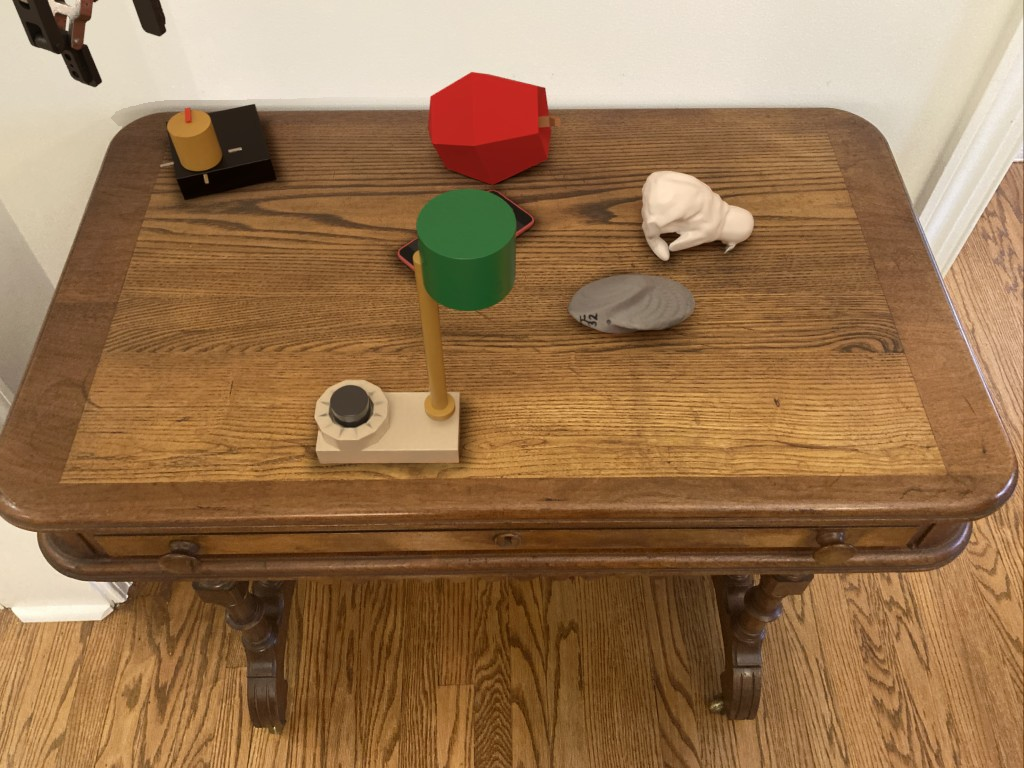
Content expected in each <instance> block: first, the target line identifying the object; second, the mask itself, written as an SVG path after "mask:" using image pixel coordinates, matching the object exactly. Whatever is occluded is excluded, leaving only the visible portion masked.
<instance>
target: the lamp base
mask: <svg viewBox="0 0 1024 768" xmlns="http://www.w3.org/2000/svg"><path fill="white" fill-rule="evenodd" d="M346 385H356V386H359V387H361V388H363V389H364V390H365V391H366V393H367V395H368V398H369V402H370V407H371V413H370V416H369V418H368V419H367V420H366V421H365V422H364V423H363V424H361V425H359V426H356V427H344V426H341V425H340V424H338V423H337V422H336V421H335V419H334V417H333V414H332V410H331V407H330V398H331V396H332V394H333V393H334V392H335V391H336V390H337V389H339V388H340V387H343V386H346ZM447 393H449V394H450V395H452V396H453V398H454V400H455V412H454V414H453V415H452V416H451V417H450V418H449V419H447V420H444V421H435V420H432V419H430V418H429V417H428V416H427V415H426V413H425V408H424V402H425V399H426V398H427V397H428V396H429V395H430V391H392V392H391V391H387V392H386V391H383V390H382V389H381V387H380V386H377V385H375V384H373V383H371V382H369V381H368V380H366V379H345V380H341V381H340V382H338V383H335V384H333V385H331V386H328V388H327V389H326V390H325V391H323V393H322V394H321V395H320V397H319V398H318V399H316V401H315V402H316V403H315V408H314V415H313V416H314V421H315V425H316V427H317V437H316V443H315V453H316V457H317V459H318V462H319V464H458V463H460V447H461V446H460V445H461V444H460V442H461V412H462V411H461V410H462V409H461V408H462V403H461V393H460V391H447Z"/></svg>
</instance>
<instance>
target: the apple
mask: <svg viewBox="0 0 1024 768" xmlns="http://www.w3.org/2000/svg"><path fill="white" fill-rule="evenodd" d="M549 111H550V110H549V105H548V97H547V90H546V87H544V86H539V85H535V84H532V83H528V82H523V81H519V80H515V79H512V78H508V77H507V78H506V77H502V76H499V75H494V74H490V73H482V72H476V71H475V72H474V71H470V72H469V73H468V74H466V75H464V76H461V77H460V78H459V79H457V80H455V81H454V82H452V83H450V84H448V85H446V86H445V87H443V88H442V89H440V90H438V91H436V92H435V93H434V94H432V95H430V97H429V109H428V120H427V132H428V135H429V138H430V141H431V144H432V146H433V148H434V149H435V151H436V153H437V155H438V156H439V158H440V160H441V162H442V164H443V165H444V167H445V168H446V169H447V170H450V171H451V172H455V173H458V174H461V175H464V176H467V177H468V178H472V179H474V180H476V181H480V182H483V183H486V184H488V185H490V186H494V185H496V184H498V183H501V182H502V181H505V180H507V179H508V178H511V177H513V176H515V175H517V174H519V173H522V172H524V171H525V170H528V169H529V168H532V167H534V166H536V165H539V164H540V163H542V162H544V161H547V160H548V159H549V151H550V143H551V138H552V137H551V135H552V127H558V126H562V119H561V118H560V116H558V115H550V112H549Z"/></svg>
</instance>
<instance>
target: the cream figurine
mask: <svg viewBox="0 0 1024 768" xmlns="http://www.w3.org/2000/svg"><path fill="white" fill-rule="evenodd" d="M641 194H642V207H641V209H640V210H641V211H640V213H641V217H642V220H643V221H642V223H641V230H642V231H643V234H644V236H645V240H646V243H647V245H648V246H649V248H650V250H651V251H652V252H653V253H654V254H655V255H656V256H657V258H659V260H661V261H664V262H667V261H668V260H669V259H670V255H671V254H670V252H678V251H682V250H686V249H689V248H692V247H697V246H699V245H702V244H705V243H706V244H707V243H712V242H715V241H720V242H721V243H722V244H723V245H726V246H725V249H724V250H725V251H724V254H726V253H728V252H729V251H732V250H733V249H734V248H735V247H736V245H738V244H739V243H742V242H744V241H746V240H747V239H749V238H750V237H751V235H752V233H753V230H754V227H755V219H754V216H753V214H752V213H751V212H750V211H749V210H747V209H746V208H743V207H741V206H737V205H733V204H732V205H731V204H728V202H726V201H724V200H723V199H722V198H721V196H720V194H718V193H716V192H714V191H713V190H712V188H711V187H710V186H709V185H708V184H706V183H705V182H703V181H702V180H699V179H698V178H697V177H695V176H693V175H690V174H687V173H684V172H678V171H673V170H658V171H654V172H652V173H651V174H649V175H648V176H647V178H646V180H645V182H644V183H643V185H642V188H641ZM668 233H676V234H678V235H680V236H678V238H676V239H675V240H673V241H672V242H671V243H670V244H669V245H668V243H667V242H666V241H665V239H663V238H662V237H661V234H668Z"/></svg>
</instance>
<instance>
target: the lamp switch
mask: <svg viewBox="0 0 1024 768" xmlns="http://www.w3.org/2000/svg"><path fill="white" fill-rule="evenodd" d="M330 407H331V410H332V414H333V417H334V419H335V421H336V422H337V423H338V424H340V425H341V426H344V427H356V426H359V425H361V424H363V423H364V422H365V421H366V420H367V419H368V418H369V416H370V413H371V407H370V402H369V398H368V395H367V393H366V391H365V390H364V389H363V388H361V387H359V386H356V385H346V386H343V387H340V388H339V389H337V390H336V391H335V392H334V393H333V394H332V396H331V398H330Z"/></svg>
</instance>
